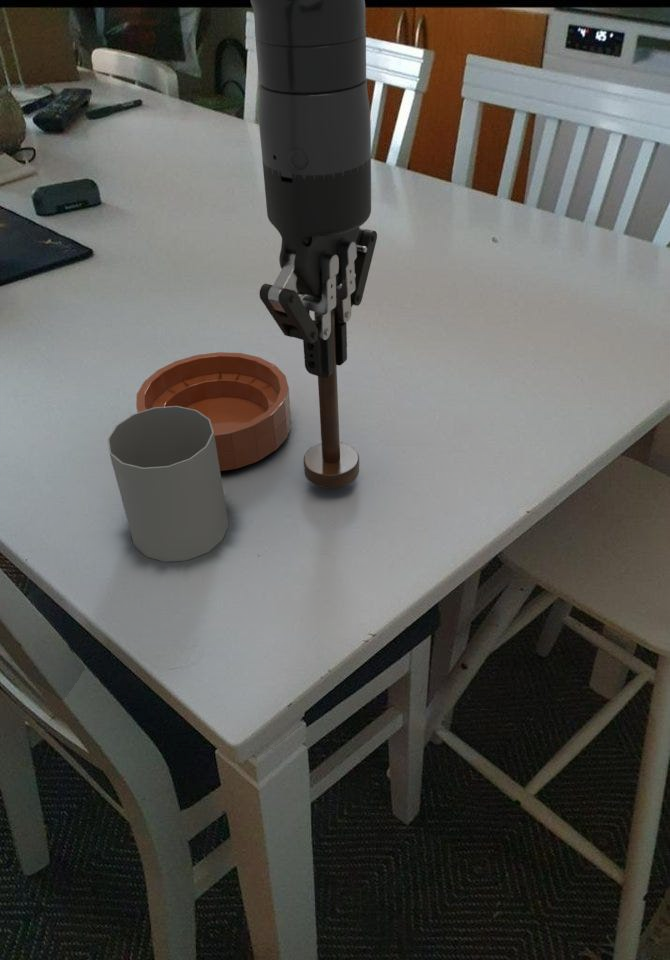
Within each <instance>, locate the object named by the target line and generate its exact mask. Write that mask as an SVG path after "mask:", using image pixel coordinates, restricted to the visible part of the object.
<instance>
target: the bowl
mask: <svg viewBox="0 0 670 960" xmlns="http://www.w3.org/2000/svg"><path fill="white" fill-rule="evenodd" d="M135 400H136V401H135V402H136V404H135V405H136V407H135V408H136V413H139V412H142V411H145V410H148V409H151V408H154V407H168V406H180V407H184V408H189V409H194V410H197V411H199V412H200V413H201V414H203V415H204V416H206V417H207V418H209V419H210V421H211V425H212V428H213V431H214V436H215V443H216V449H217V455H218V461H219V467H220V472H223V471H225V472H226V471H231V470H237V469H240V468H243V467H246V466H248V465H251V464H252V465H253V464H255V463H257V462H259V461H261V460H263V459H265V457H267V456H269V455H271V454H272V453H274V452H275V451H277V449H279V447H280V446H282V444H283V443H284V442H285V440H287V438H288V436H289V433H290V429H291V426H292V412H291V400H290V388H289V384H288V379H287V376H286V375H285V373H283V372H282V370H281V369H280V368H279V367H278V366H277V365H276V364H274V363H272V362H270V361H268V360H267V359H264V358H262V357H260V356H255V355H251V354H246V353H243V352H224V351H220V352H219V351H217V352H209V353H201V354H194V355H192V356H189V357H185V358H182V359H178V360H174V361H172V362H170V363H169V364H167V365H164V366H163V367H161V368H158V369H157V370H156V371H155V372H154V373H152V374H151V375H150V376H149V377H147V378H146V379H145V380H144V381H143V383H142V384H141V385H140V388H139V390H138V391H137V393H136V399H135Z"/></svg>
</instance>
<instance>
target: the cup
mask: <svg viewBox="0 0 670 960" xmlns="http://www.w3.org/2000/svg"><path fill="white" fill-rule="evenodd" d="M107 446H108V454H109V456H110V460H111V461H110V462H111V465H112V468H113V471H114V475H115V480H116V483H117V487H118V491H119V494H120V498H121V501H122V505H123V506H122V507H123V509H124V513H125V515H126V516H125V517H126V520H127V524H128V529H129V531H130V534H131V538H132V543H133V546H134V547H136V549H137V550H139V552H140V553H142V555H144V556H145V558H150V559H154V560H157V561H160V562H164V563H170V562H183V561H190V560H192V559H195V558H198V557H200V556H203V555H205V554H208V553H209V552H210V551H211V550H213V549H214V548H215V547H217V545H218V544H220V543H221V542H222V541H223V540H224V538H225V535H226V533H227V530H228V527H229V525H230V523H229V517H228V510H227V503H226V499H225V493H224V487H223V482H222V473H221V471H220V467H219V461H218V455H217V449H216V443H215V436H214V431H213V428H212V425H211V421H210V419H209V418H207V417H206V416H204V415H203V414H201V413H200V412H199V411H197V410H194V409H189V408H184V407H180V406H168V407H154V408H151V409H148V410H145V411H142V412H139V413H138V412H135V413H133V414H130V416H128V417H127V418H126V419H123V420H122V421H121V422H119V423H118V424H116V425H115V426H114V428H113V429H112V432H111V433H110V434H109V436H108V438H107Z"/></svg>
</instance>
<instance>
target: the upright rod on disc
mask: <svg viewBox="0 0 670 960" xmlns="http://www.w3.org/2000/svg"><path fill="white" fill-rule="evenodd" d="M313 315H314V320H315V321H317V314H316V313H315V312H314V313H313ZM330 335H332V353H333V373H332V374H331V375H330V376H328V377H327V378H323V377H319V376H317V386H318V387H317V389H318V403H319V404H318V405H319V421H320V422H319V423H320V439H321V440H320V441H321V443H317V444H314V445H313V446H311V447H310V448H309V449H308V450H307V451H306V452H305V453H304V456H303V470H304V476H305V478H306V479H307V480H308V481H309V482H310V483H311V484H312V485H314V486H316V487H319V488H323V489H324V488H326V489H337V488H342V487H345V486H347V485H350V484H352V483H353V482H354V481H355V480H356V479H357V477H358V476H359V474H360V455H359V452H358V451H357V450H356V448H355V447H353V446H352V445H350V444H348V443H345V442H340V419H339V393H338V369H337V367H338V365H337V363H336V337H335V312H334V311H333V310H331V333H330Z"/></svg>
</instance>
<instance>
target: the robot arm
mask: <svg viewBox="0 0 670 960" xmlns="http://www.w3.org/2000/svg"><path fill="white" fill-rule="evenodd" d="M249 1H250V4H251V8H252V11H253V17H254V37H255V49H256V61H257V72H258V83H259V84H258V85H259V104H258V124H259V125H258V127H259V128H258V129H259V137H260V138H259V139H260V149H261V158H262V159H261V161H262V172H263V183H264V193H265V194H264V195H265V205H266V206H265V207H266V215H267V219H268V221H269V223H270V224H271V225H272V226H273V227H274V228H275V230H276V231H277V232H278V233H279V236H280V237H281V245H280V253H279V257H278V258H279V266H280V269H281V270H280V272H279V274H278V276H277V277H276V279H275V281H274V283H273V284H270V283H263V284H262V285H261V286H260V289H259V299H260V301H261V302H262V303H263V305H264V306H265V308H266V309H267V311H268V313H269V314H270V315H271V317H272V318H273V320H274V321H275V323H276V324H277V326H278V327H279V329H280V331H281V332H282V334H283V335H284V336H286V337H289V338H294V339H298V340H302V343H303V359H304V368H305V370H306V371H307V372H308V374H310V375H313V376H316V377H318V376H319V377H323V378H327V377H328V376H330V375H331V374H332V373H333V353H332V335H330V333H331V310H333V311H334V312H335V337H336V363H337V366H342V365H343V364H344V363H346V361H347V360H348V341H347V340H348V329H347V323H349V321H350V320H351V317H352V307H353V306H357V307H358V306H360V305H361V303H362V301H363V296H364V294H365V293H364V292H365V290H366V289H365V288H366V284H367V281H368V277H369V272H370V268H371V265H372V261H373V256H374V252H375V248H376V244H377V240H378V233H377V231H376V230H372V229H367V228H363V227H361V226H363V225H364V224H365V223H366V222H367V221H368V220H369V218H370V216H371V214H372V213H371V212H372V139H371V138H372V137H371V136H372V133H371V132H372V128H371V127H372V126H371V125H372V124H371V122H372V121H371V109H370V101H369V94H368V93H369V92H368V81H367V11H366V1H365V0H249ZM311 312H314V313H316V314H317V321H315V319H313V318H312V317H311V314H310V313H311Z"/></svg>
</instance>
